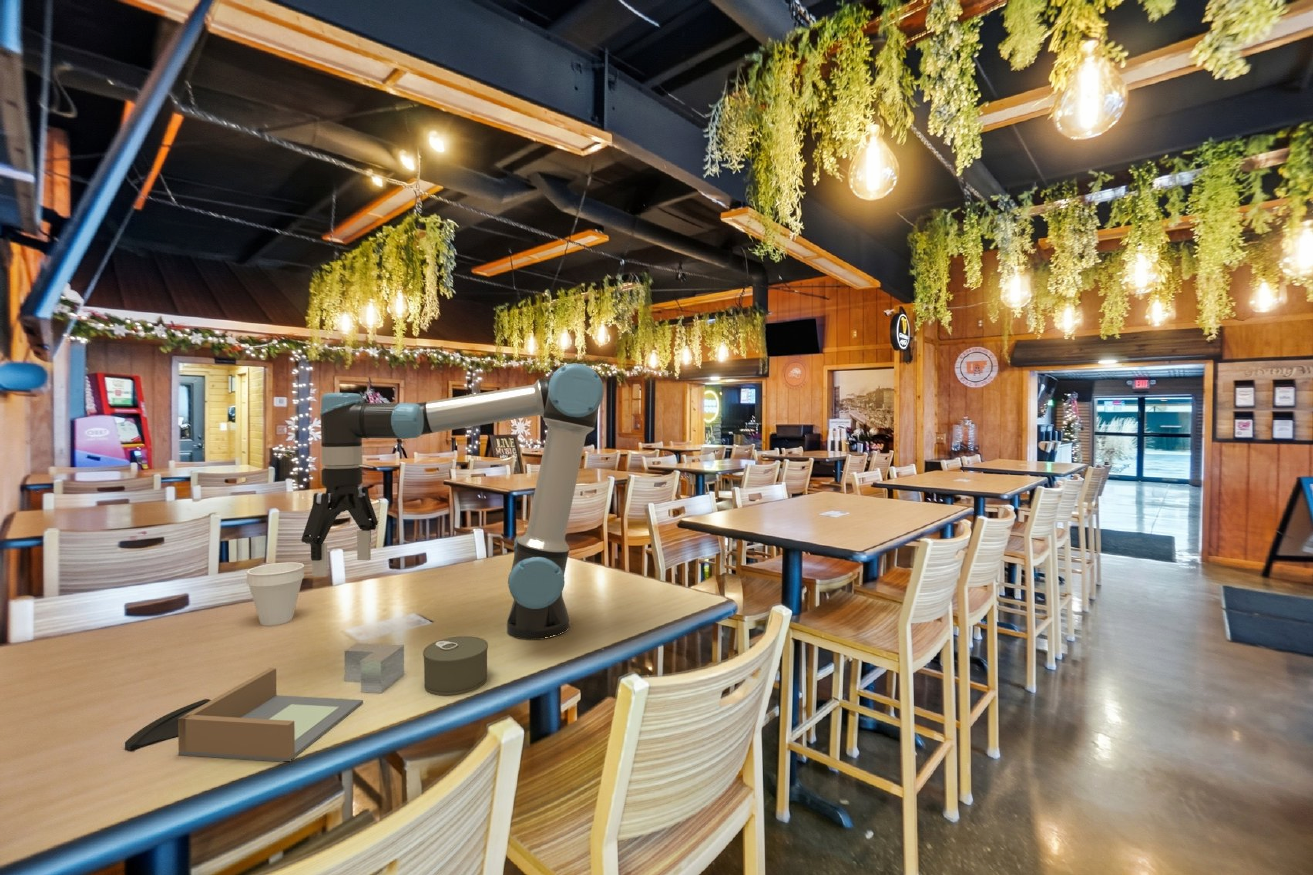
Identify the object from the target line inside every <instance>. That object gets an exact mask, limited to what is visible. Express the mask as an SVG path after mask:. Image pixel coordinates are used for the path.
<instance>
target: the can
mask: <svg viewBox="0 0 1313 875" xmlns="http://www.w3.org/2000/svg"><path fill="white" fill-rule="evenodd" d="M488 649H489V643H488V641H487V640H485V639H484V638H481V637H478V636H468V635H467V636H453V637H447V638H444V639H440V640H437V641H435V642H432V643H429V644H428V645H427V646H426V647H424V649H423V651H422V656H423V667H424V668H423V671H424V672H423V673H424V674H423V675H424V679H423V680H424V684H423V686H424V690H425V691H426V692H427V693H428V694H431V695H432V696H433V695H434V696H438V697H439V696H440V697H452V696H460V695H465V694H467V693H471V692H473V691H476V690H478V689H480V688H481V687H483V685H485V684H486V682H487V680H488Z"/></svg>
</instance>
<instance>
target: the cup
mask: <svg viewBox="0 0 1313 875" xmlns="http://www.w3.org/2000/svg"><path fill="white" fill-rule="evenodd" d="M304 578H305V564H304V563H302V562H295V561H294V562H293V561H292V562H287V561H286V562H274V563H268V564H262V565H259V566H254V567H252V568H250V569H248V570H247V571H246V584H247V585H248V587H249V590H250V594H251V596H252V597H251V598H252V601H253V603H254V607H255V609H256V614H257V617H258V620H259V624H260V625H261V626H265V627H266V626H267V627H270V626H279V625H284V624H287V623H289V622H291V621H292V620H293V618H294V614H295V610H296V607H297V602H298V598H299V595H300V590H301V586H302V582H303V579H304Z"/></svg>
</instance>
